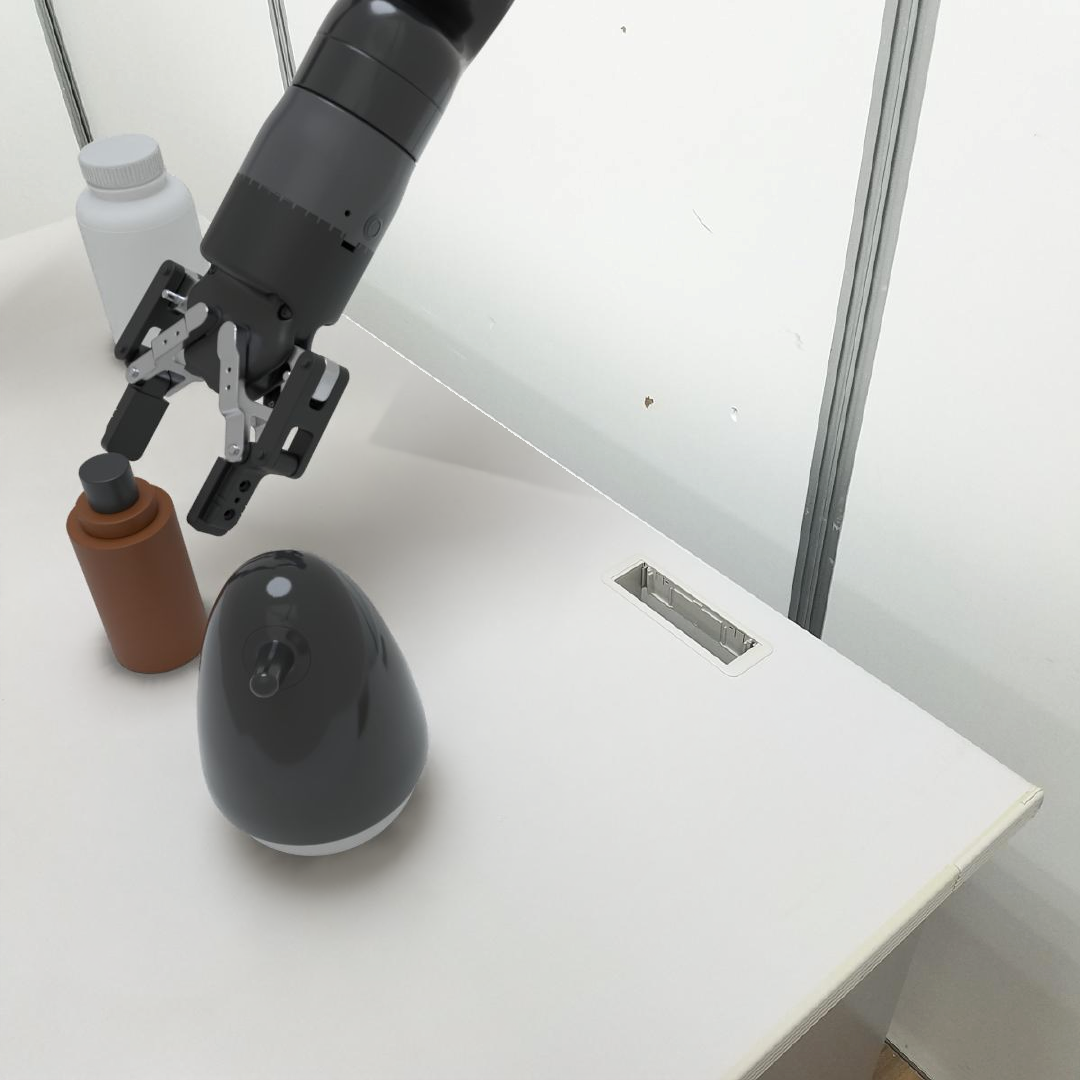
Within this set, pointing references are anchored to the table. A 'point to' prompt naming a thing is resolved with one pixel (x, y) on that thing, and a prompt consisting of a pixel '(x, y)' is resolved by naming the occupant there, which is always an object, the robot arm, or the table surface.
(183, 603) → the amber bottle
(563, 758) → the table surface
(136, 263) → the pill bottle
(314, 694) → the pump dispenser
